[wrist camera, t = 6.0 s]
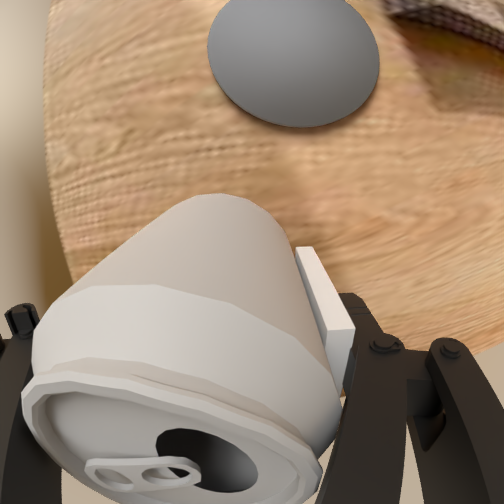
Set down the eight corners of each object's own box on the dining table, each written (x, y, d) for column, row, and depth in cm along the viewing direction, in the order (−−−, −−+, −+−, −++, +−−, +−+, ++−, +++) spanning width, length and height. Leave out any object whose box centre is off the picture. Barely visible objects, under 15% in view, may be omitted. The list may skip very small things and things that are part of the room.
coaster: (210, -12, 13) (208, -17, 13) (365, -3, 13) (369, -7, 13) (209, 129, 17) (208, 128, 16) (378, 133, 17) (383, 132, 16)
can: (302, 309, 16) (351, 521, 5) (176, 331, 17) (111, 518, 5) (276, 174, 14) (371, 294, 2) (133, 211, 14) (-55, 343, 3)
